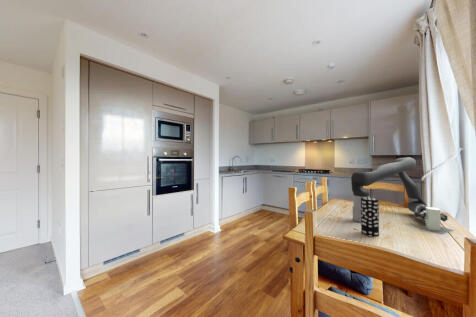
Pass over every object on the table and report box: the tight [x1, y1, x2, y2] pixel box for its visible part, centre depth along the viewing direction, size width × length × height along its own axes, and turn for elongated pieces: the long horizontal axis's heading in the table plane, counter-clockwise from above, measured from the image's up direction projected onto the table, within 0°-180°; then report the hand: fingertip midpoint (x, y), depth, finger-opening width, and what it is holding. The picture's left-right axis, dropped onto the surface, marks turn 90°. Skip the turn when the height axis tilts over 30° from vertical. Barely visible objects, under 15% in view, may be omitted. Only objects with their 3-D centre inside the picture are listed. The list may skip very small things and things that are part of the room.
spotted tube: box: [360, 196, 380, 238], centre depth 109 cm, size 8×8×20 cm
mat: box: [419, 225, 454, 235], centre depth 113 cm, size 14×10×1 cm
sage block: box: [425, 206, 442, 231], centre depth 114 cm, size 5×5×12 cm
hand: (434, 218), depth 112 cm, fingers open, 8 cm apart
